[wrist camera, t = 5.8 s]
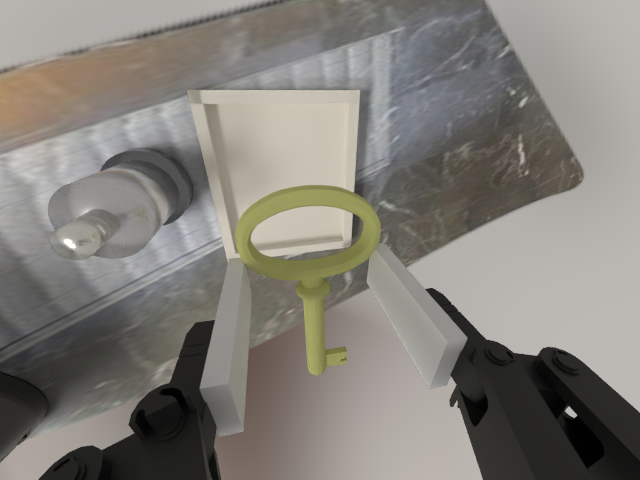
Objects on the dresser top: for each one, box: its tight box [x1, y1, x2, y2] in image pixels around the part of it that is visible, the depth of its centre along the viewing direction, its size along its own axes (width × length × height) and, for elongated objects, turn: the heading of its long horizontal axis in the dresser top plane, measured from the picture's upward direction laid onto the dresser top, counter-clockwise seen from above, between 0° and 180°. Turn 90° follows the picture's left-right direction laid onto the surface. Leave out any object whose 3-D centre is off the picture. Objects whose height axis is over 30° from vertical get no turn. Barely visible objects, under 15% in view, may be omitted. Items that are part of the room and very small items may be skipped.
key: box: [235, 185, 381, 375], centre depth 14 cm, size 7×12×2 cm, turn 19°
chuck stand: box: [48, 148, 193, 260], centre depth 19 cm, size 7×7×12 cm
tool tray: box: [187, 90, 360, 262], centre depth 26 cm, size 15×17×2 cm
